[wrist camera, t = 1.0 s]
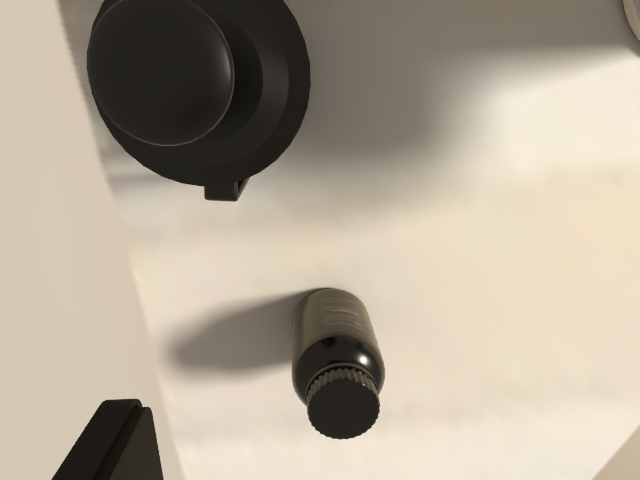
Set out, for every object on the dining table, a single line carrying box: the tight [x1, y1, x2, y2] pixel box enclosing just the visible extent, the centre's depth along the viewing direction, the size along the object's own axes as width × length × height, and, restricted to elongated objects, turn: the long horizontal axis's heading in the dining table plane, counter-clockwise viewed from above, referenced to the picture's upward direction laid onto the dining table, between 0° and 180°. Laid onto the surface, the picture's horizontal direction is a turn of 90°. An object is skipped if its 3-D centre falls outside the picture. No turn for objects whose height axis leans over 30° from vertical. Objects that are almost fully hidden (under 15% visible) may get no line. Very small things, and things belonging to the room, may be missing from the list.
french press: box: [87, 0, 311, 201], centre depth 24 cm, size 12×9×23 cm
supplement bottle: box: [292, 289, 385, 439], centre depth 36 cm, size 7×7×12 cm
